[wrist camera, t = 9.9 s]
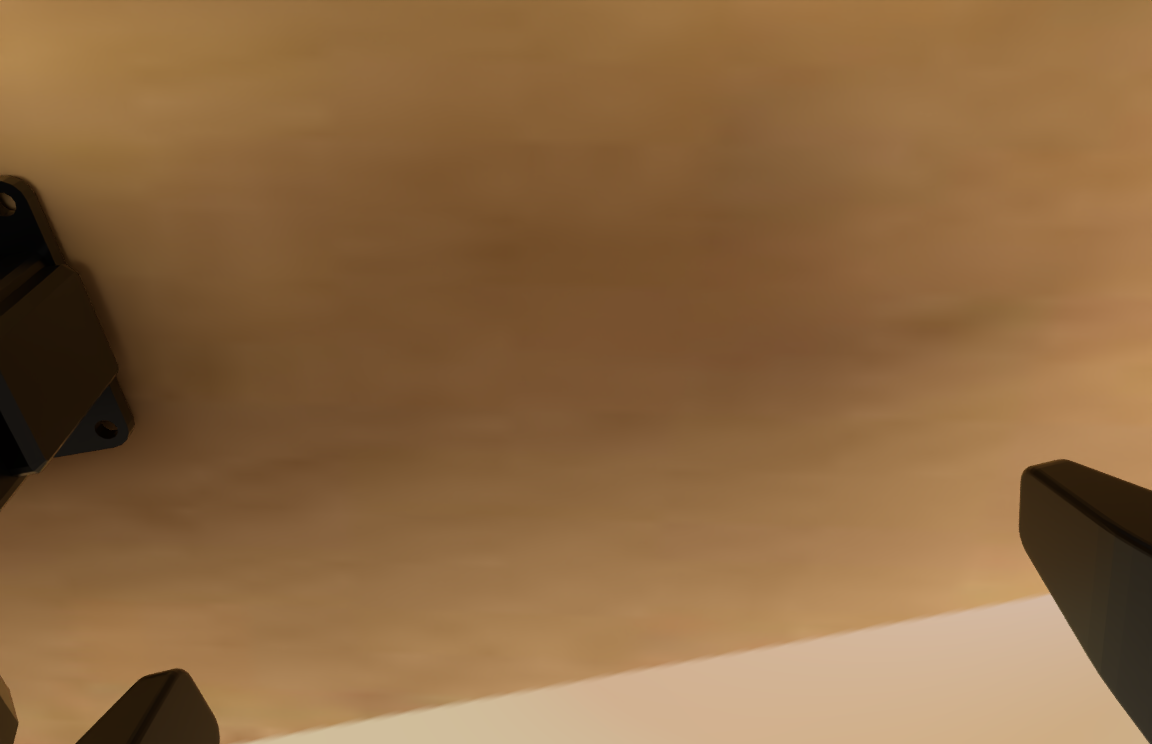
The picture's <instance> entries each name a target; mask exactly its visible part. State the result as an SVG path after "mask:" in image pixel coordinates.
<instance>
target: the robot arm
mask: <svg viewBox="0 0 1152 744" xmlns="http://www.w3.org/2000/svg"><path fill="white" fill-rule="evenodd" d="M0 193H5V194H7V195H9V196H11V197H12V199H13V200H14V201H15V203H16V211H14V210H9V209H7V208H5V207H4V206H3V205H2V204H1V202H0V511H1V510H2V508H3V507H4V506H5V505H6V503H7V502H8V501H9V500H10V498H11V497H12V496H13V494H14V493H15V492H16V491H17V489H18V488H19V487H20V486H21V484H22V483H23V482H24V481H25V479H26V478H27V477H28V475H31V474H37V473H40V472H41V471H43V470H44V469H45V467H46V466H47V465H48V463H49V462H50V461H51V459H52V458H54V457H60V456H66V455H72V454H78V453H84V452H90V451H96V450H102V449H108V448H114V447H117V446H119V445H122V444H123V443H124V442H125V441H126V440H127V439H128V437H129V436H130V434H131V433H132V431H133V428H134V425H135V424H134V419H133V416H132V413H131V411H130V409H129V407H128V404H127V402H126V400H125V397H124V395H123V393H122V391H121V388H120V386H119V384H118V382H117V379H116V377H115V375H116V373H117V372H118V364H117V362H116V360H115V358H114V355H113V353H112V351H111V348H110V346H109V344H108V341H107V339H106V337H105V335H104V332H103V330H102V328H101V325H100V323H99V321H98V318H97V316H96V314H95V312H94V309H93V307H92V305H91V302H90V300H89V298H88V295H87V293H86V291H85V288H84V286H83V284H82V282H81V279H80V277H79V275H78V273H77V272H76V271H74V270H73V269H72V268H70V267H69V266H67V265H66V263H65V261H64V258H63V256H62V254H61V252H60V249H59V247H58V245H57V243H56V240H55V238H54V236H53V233H52V231H51V229H50V227H49V224H48V222H47V220H46V217H45V215H44V213H43V211H42V208H41V206H40V204H39V201H38V199H37V197H36V195H35V193H34V192H33V190H32V189H31V187H30V186H29V185H27V184H26V183H25V182H24V181H22V180H21V179H18V178H16V177H13V176H0ZM101 420H105V421H110V422H112V423H114V424H115V426H116V427H117V430H110V429H108V428H106V427H105V426H104V425H103V424H102V423H101ZM1019 533H1020V538H1021V541H1022V544H1023V547H1024V549H1025V551H1026V553H1027V554H1028V556H1029V558H1030V560H1031V561H1032V563H1033V565H1034V566H1035V568H1036V570H1037V571H1038V573H1039V575H1040V576H1041V578H1042V580H1043V582H1044V583H1045V585H1046V587H1047V588H1048V590H1049V592H1050V593H1051V595H1052V597H1053V599H1054V600H1055V602H1056V604H1057V605H1058V607H1059V609H1060V610H1061V612H1062V614H1063V615H1064V617H1065V619H1066V620H1067V622H1068V624H1069V626H1070V627H1071V629H1072V631H1073V632H1074V634H1075V636H1076V637H1077V639H1078V640H1079V642H1080V644H1081V646H1082V647H1083V649H1084V651H1085V653H1086V654H1087V656H1088V657H1089V659H1090V661H1091V662H1092V664H1093V666H1094V667H1095V668H1096V670H1097V672H1098V673H1099V675H1100V677H1101V678H1102V679H1103V681H1104V682H1105V683H1106V685H1107V686H1108V688H1109V689H1110V691H1111V692H1112V693H1113V695H1114V696H1115V698H1116V699H1117V700H1118V702H1119V703H1120V704H1121V706H1122V707H1123V708H1124V710H1125V711H1126V712H1127V714H1128V715H1129V716H1130V718H1131V719H1132V720H1133V722H1134V723H1135V725H1136V726H1137V727H1138V729H1139V730H1140V731H1141V732H1142V734H1143V735H1144V736H1145V738H1146V739H1147V741H1148V742H1149V743H1150V744H1152V491H1151V490H1149V489H1146V488H1143V487H1141V486H1138V485H1135V484H1132V483H1130V482H1127V481H1124V480H1122V479H1119V478H1116V477H1113V476H1111V475H1108V474H1105V473H1103V472H1100V471H1097V470H1095V469H1092V468H1089V467H1086V466H1084V465H1081V464H1078V463H1076V462H1073V461H1069V460H1065V459H1059V460H1054V461H1050V462H1045V463H1041V464H1037V465H1033V466H1030V467H1028V468H1026V469H1025V470H1024V471H1023V474H1022V476H1021V484H1020V509H1019ZM17 727H18V719H17V716H16V712H15V708H14V705H13V701H12V697H11V693H10V690H9V688H8V687H7V685H6V684H5V682H4V681H3V679H2V677H1V676H0V744H13V743H14V739H15V735H16V731H17ZM76 744H220V735H219V727H218V724H217V721H216V718H215V716H214V714H213V713H212V711H211V709H210V708H209V706H208V704H207V703H206V701H205V699H204V698H203V696H202V694H201V693H200V691H199V689H198V687H197V686H196V684H195V682H194V681H193V679H192V677H191V676H190V675H189V673H187V672H186V671H185V670H183V669H171V670H167V671H162V672H158V673H154V674H150V675H147V676H144V677H142V678H141V679H139V680H138V681H137V682H136V683H135V684H134V685H133V686H132V687H131V688H130V689H129V690H128V691H127V692H126V693H125V694H124V695H123V696H122V697H121V698H120V699H119V700H118V701H117V702H116V703H115V704H114V705H113V706H112V707H111V708H110V709H109V710H108V711H107V712H106V713H105V714H104V715H103V716H102V717H101V718H100V719H99V720H98V721H97V722H96V723H95V724H94V725H93V726H92V727H91V728H90V729H89V730H88V731H87V732H86V733H85V734H84V735H83V736H82V737H81V738H80V740H79V741H78V742H77V743H76Z"/></svg>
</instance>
